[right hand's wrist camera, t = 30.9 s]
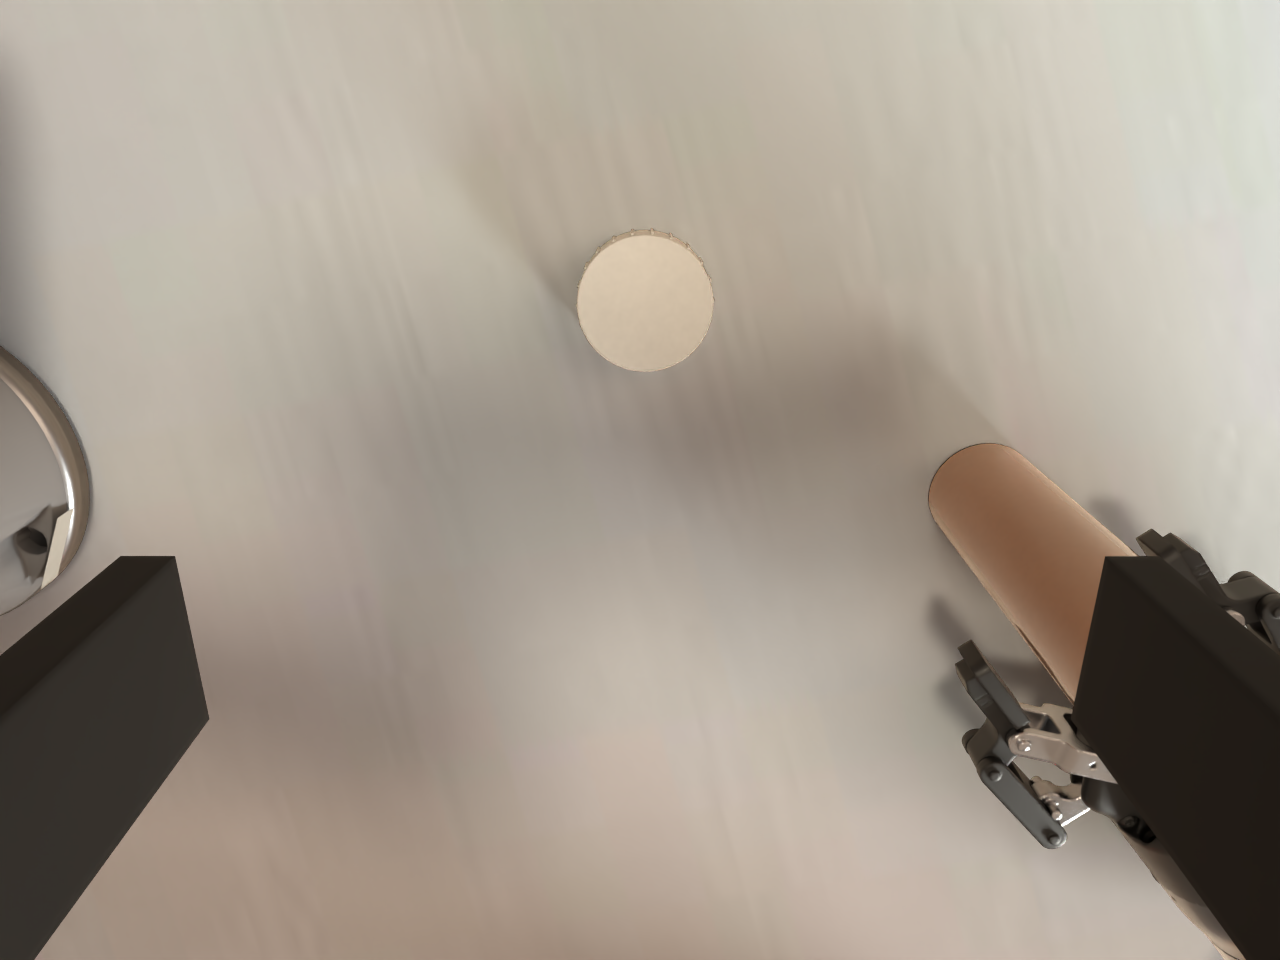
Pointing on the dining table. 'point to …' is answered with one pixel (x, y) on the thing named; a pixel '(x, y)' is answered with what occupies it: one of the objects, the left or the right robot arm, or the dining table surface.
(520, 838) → the dining table surface
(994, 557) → the jar
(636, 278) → the lid
